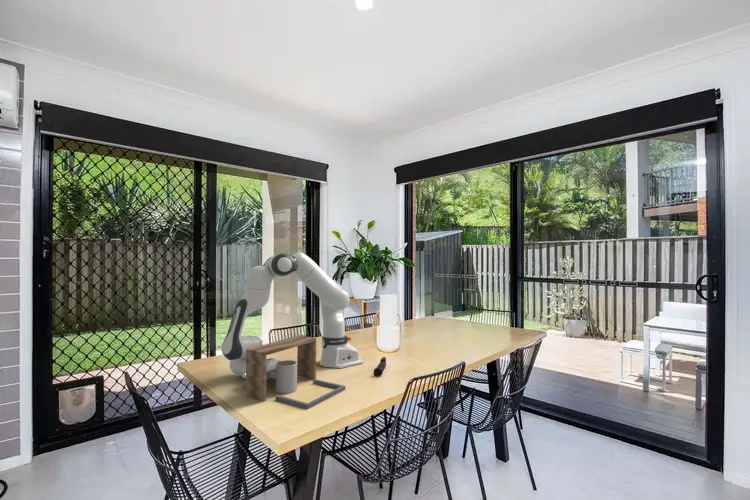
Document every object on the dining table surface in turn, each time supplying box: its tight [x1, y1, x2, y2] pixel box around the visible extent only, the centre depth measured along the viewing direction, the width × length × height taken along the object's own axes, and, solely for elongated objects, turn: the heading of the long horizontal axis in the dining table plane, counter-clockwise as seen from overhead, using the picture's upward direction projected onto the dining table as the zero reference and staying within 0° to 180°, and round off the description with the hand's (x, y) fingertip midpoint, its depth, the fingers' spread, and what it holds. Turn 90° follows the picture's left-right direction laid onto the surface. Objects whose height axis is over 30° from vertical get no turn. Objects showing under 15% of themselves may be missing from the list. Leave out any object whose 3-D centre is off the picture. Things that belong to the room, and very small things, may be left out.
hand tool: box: [373, 356, 387, 377], centre depth 181 cm, size 19×4×5 cm, turn 166°
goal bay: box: [275, 378, 346, 410], centre depth 149 cm, size 16×23×2 cm
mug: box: [275, 359, 298, 395], centre depth 156 cm, size 12×8×11 cm
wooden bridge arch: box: [245, 335, 317, 403], centre depth 157 cm, size 10×30×18 cm, turn 149°
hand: (281, 375), depth 157 cm, fingers closed
